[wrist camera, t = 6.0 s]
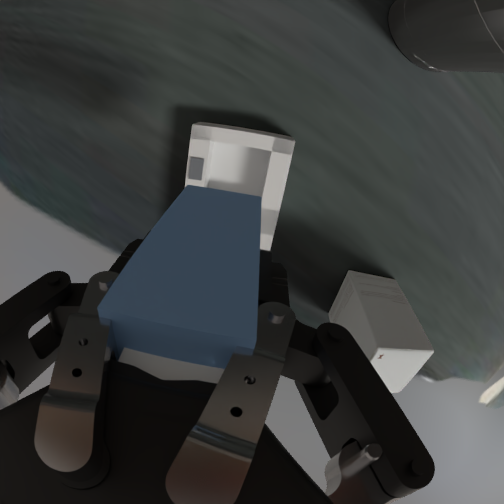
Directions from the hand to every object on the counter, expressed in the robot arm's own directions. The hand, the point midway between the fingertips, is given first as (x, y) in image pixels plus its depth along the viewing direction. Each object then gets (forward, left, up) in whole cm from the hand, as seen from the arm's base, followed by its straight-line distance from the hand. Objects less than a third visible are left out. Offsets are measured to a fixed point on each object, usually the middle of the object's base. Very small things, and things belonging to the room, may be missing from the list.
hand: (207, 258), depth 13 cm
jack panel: (+4, 0, -17) cm, 18 cm away
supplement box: (+13, +18, -18) cm, 28 cm away
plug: (0, 0, -4) cm, 4 cm away
